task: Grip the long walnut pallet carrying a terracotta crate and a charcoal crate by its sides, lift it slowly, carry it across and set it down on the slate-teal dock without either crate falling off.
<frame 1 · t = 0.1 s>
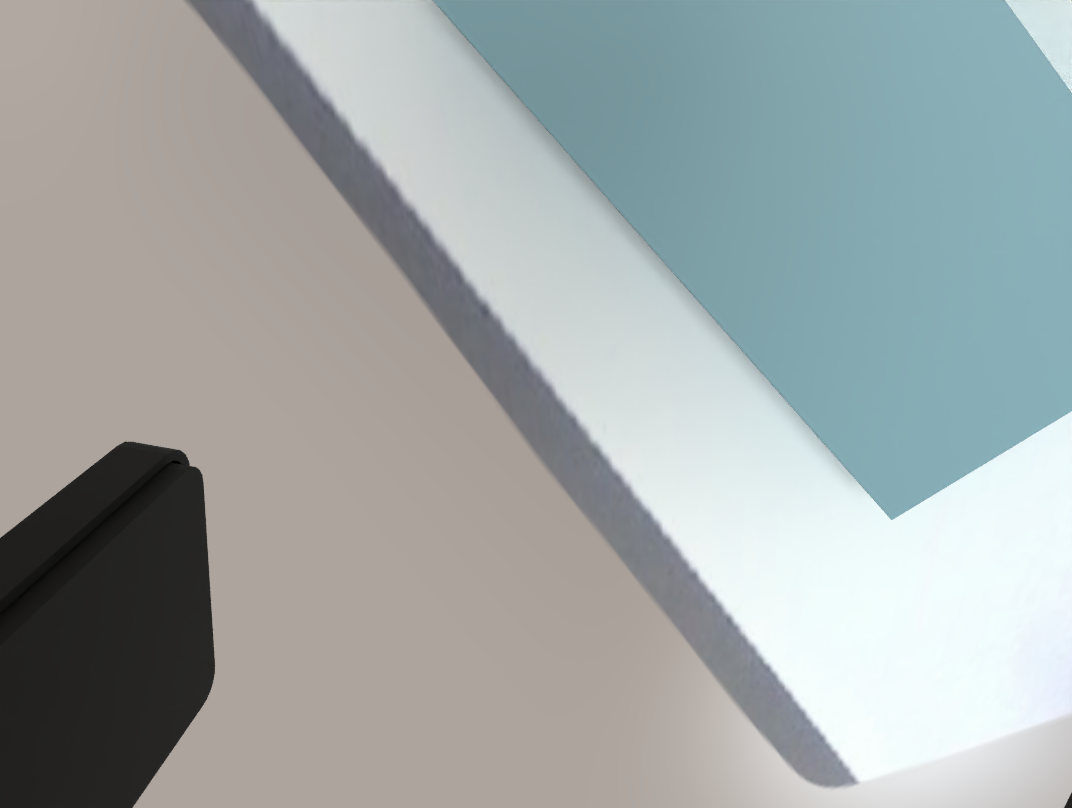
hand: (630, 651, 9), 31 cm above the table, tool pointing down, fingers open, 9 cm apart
dock: (814, 134, 36), on the table
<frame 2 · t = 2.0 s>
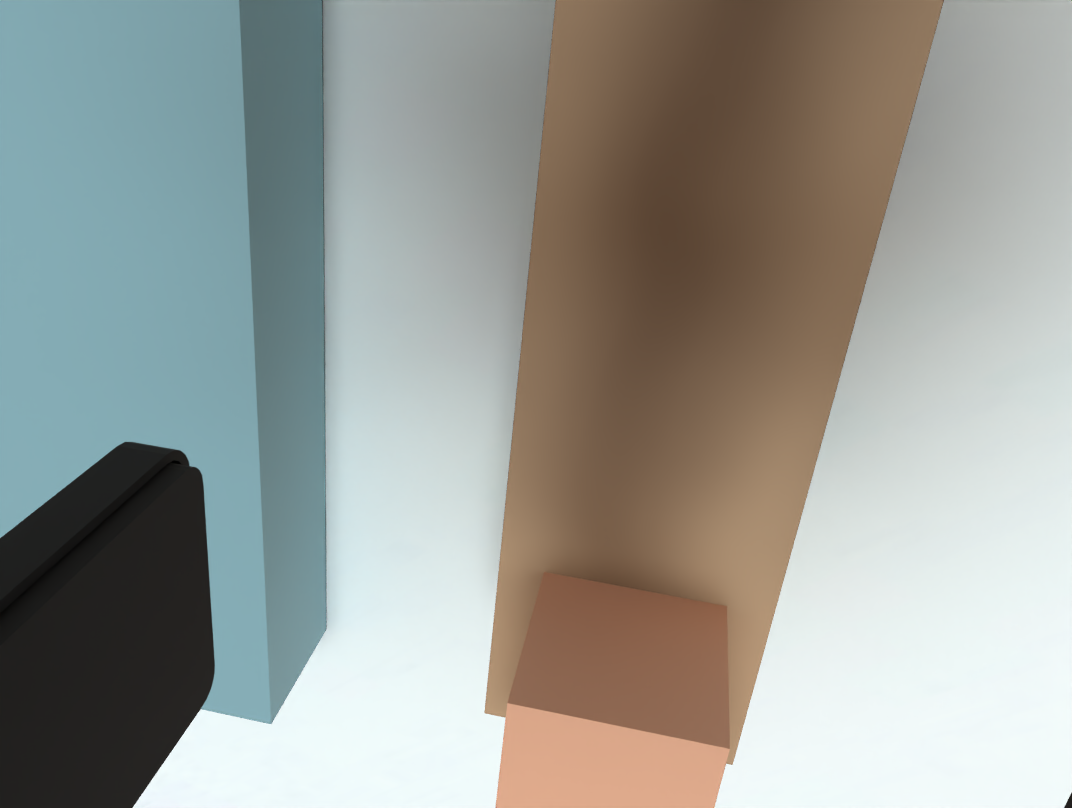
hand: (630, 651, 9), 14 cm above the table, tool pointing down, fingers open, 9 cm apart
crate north: (621, 658, 21), point 5 cm above the table, touching pallet
dock: (58, 145, 23), on the table
pallet: (691, 236, 21), on the table, touching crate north, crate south
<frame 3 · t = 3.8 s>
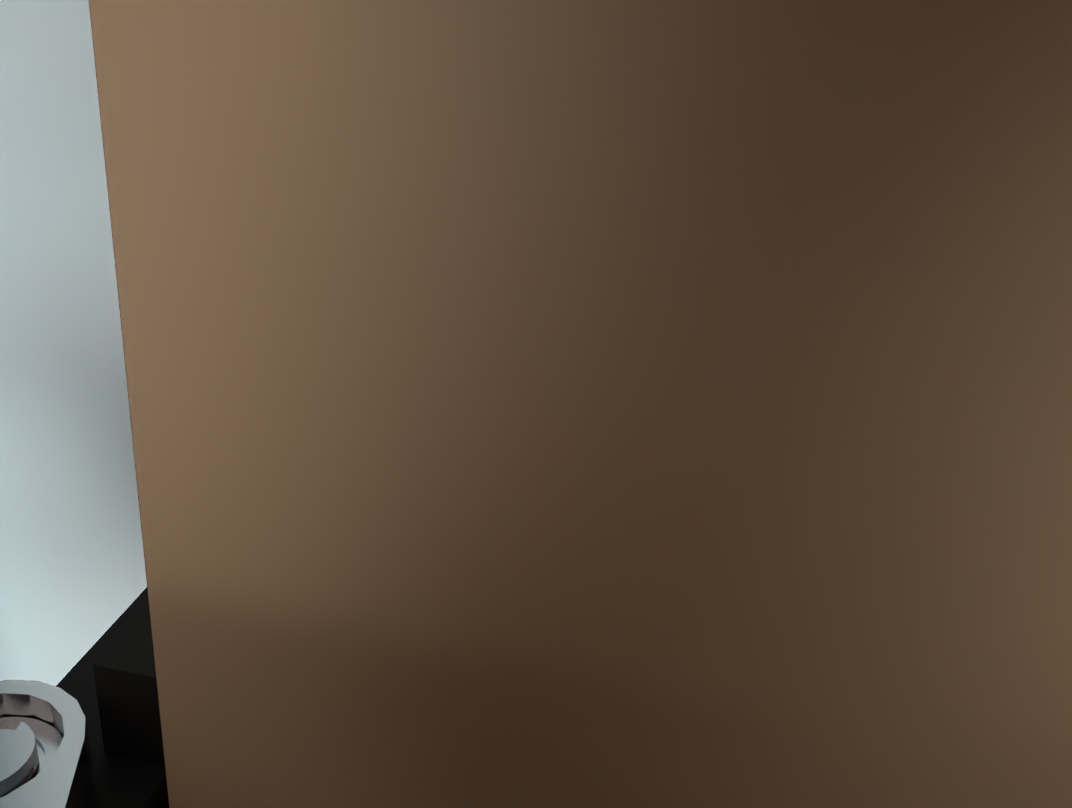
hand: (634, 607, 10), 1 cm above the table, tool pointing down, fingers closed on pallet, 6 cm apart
pallet: (640, 562, 11), on the table, touching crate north, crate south, gripper
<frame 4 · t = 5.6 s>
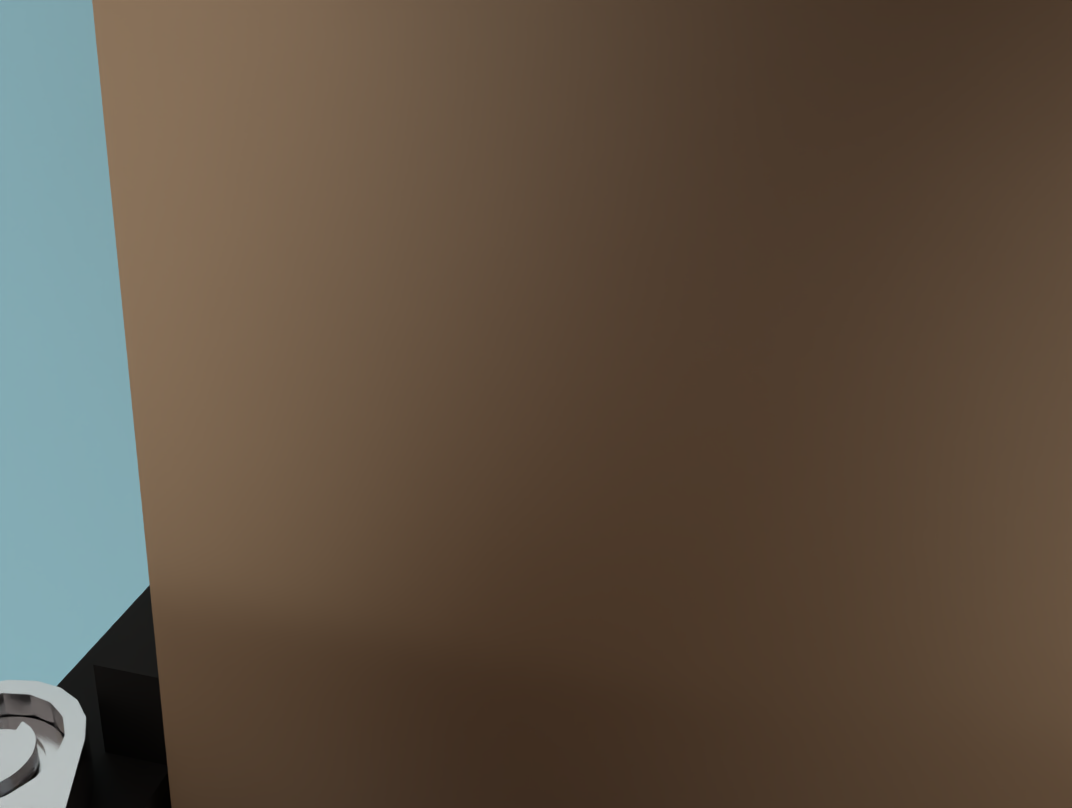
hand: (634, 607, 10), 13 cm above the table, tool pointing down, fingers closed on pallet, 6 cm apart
dock: (15, 219, 23), on the table
pallet: (639, 562, 11), point 12 cm above the table, touching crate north, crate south, gripper
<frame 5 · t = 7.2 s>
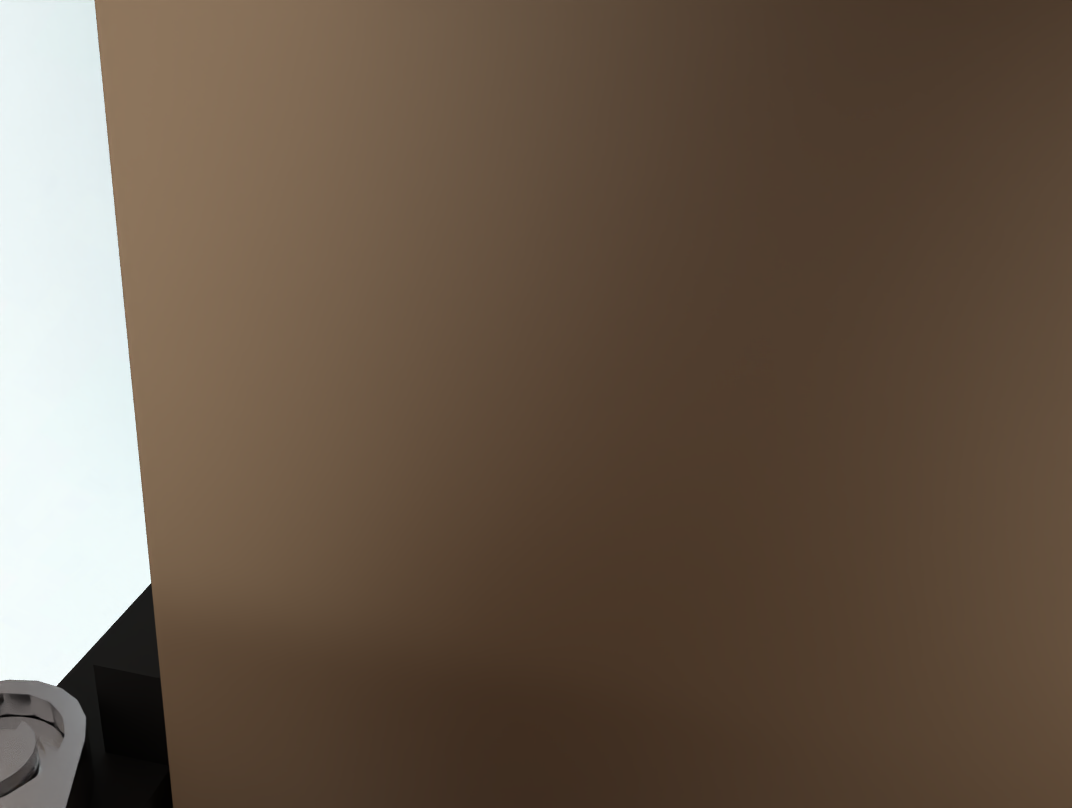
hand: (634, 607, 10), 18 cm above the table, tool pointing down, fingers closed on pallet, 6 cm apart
pallet: (641, 565, 11), point 17 cm above the table, touching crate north, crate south, gripper
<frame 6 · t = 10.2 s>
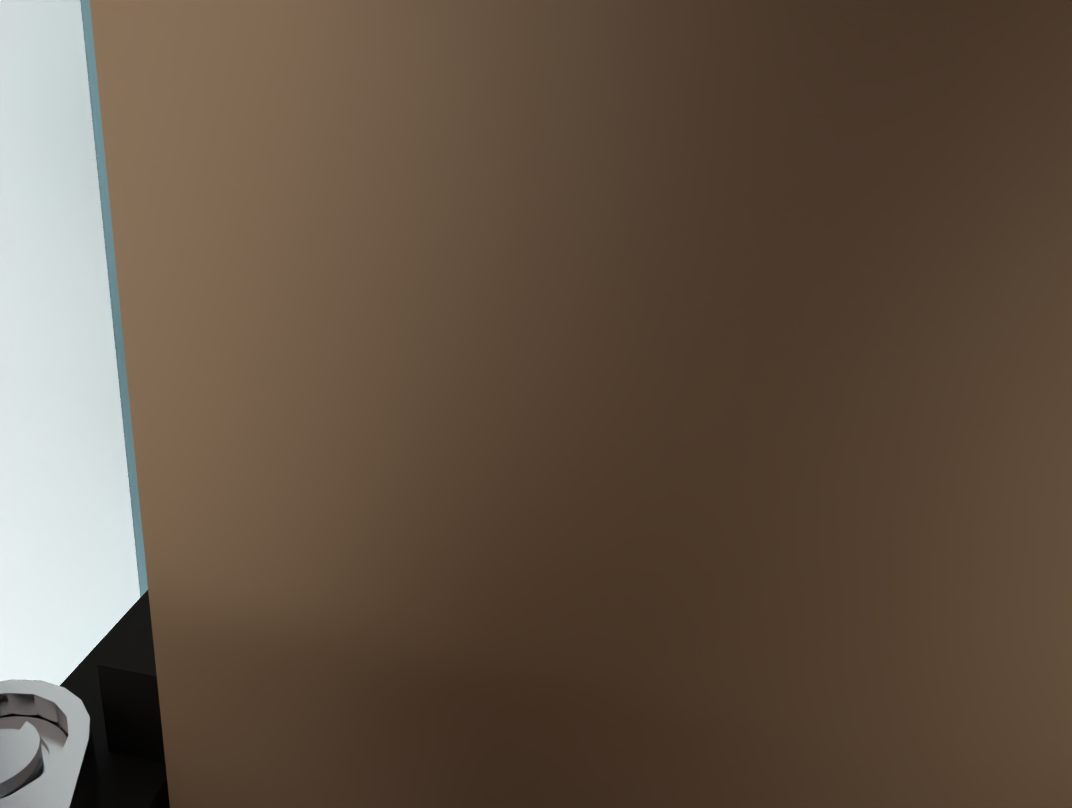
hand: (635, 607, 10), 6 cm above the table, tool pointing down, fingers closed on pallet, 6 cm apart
dock: (644, 396, 15), on the table
pallet: (639, 566, 11), point 5 cm above the table, touching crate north, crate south, gripper
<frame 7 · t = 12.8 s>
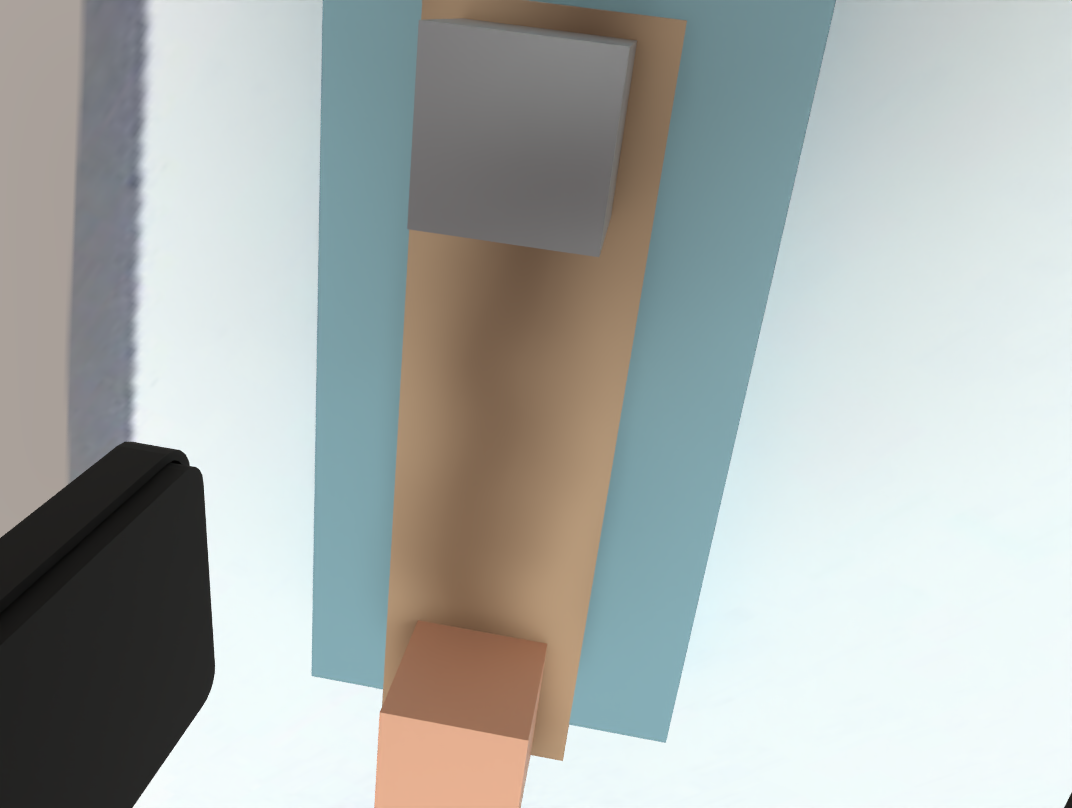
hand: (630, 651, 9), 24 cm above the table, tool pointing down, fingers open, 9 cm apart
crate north: (476, 683, 28), point 9 cm above the table, touching pallet
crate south: (539, 120, 21), point 9 cm above the table, touching pallet
dock: (541, 337, 33), on the table
pallet: (530, 374, 29), point 4 cm above the table, touching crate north, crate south, dock
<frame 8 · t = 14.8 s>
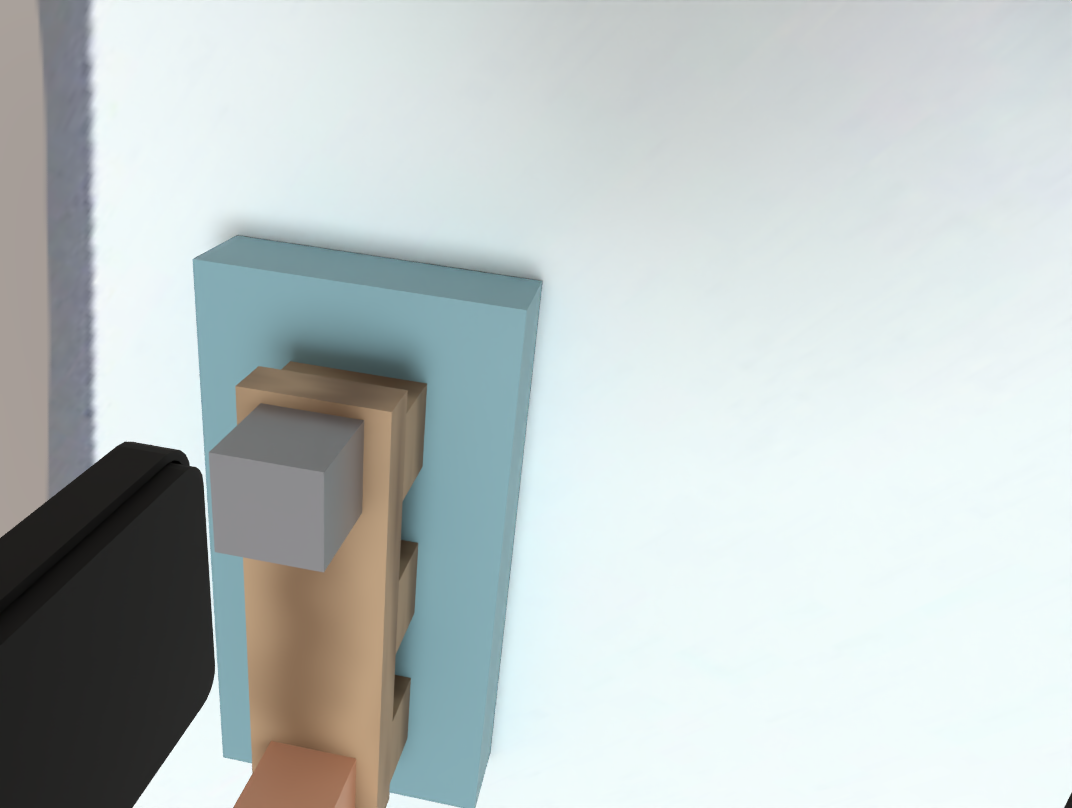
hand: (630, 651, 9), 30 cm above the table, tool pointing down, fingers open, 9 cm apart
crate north: (313, 781, 42), point 9 cm above the table, touching pallet
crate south: (312, 458, 34), point 9 cm above the table, touching pallet
dock: (378, 523, 46), on the table
pallet: (354, 567, 42), point 4 cm above the table, touching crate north, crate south, dock
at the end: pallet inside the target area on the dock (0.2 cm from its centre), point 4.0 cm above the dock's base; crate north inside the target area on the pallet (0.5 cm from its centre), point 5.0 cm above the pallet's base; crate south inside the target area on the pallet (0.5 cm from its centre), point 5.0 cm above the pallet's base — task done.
